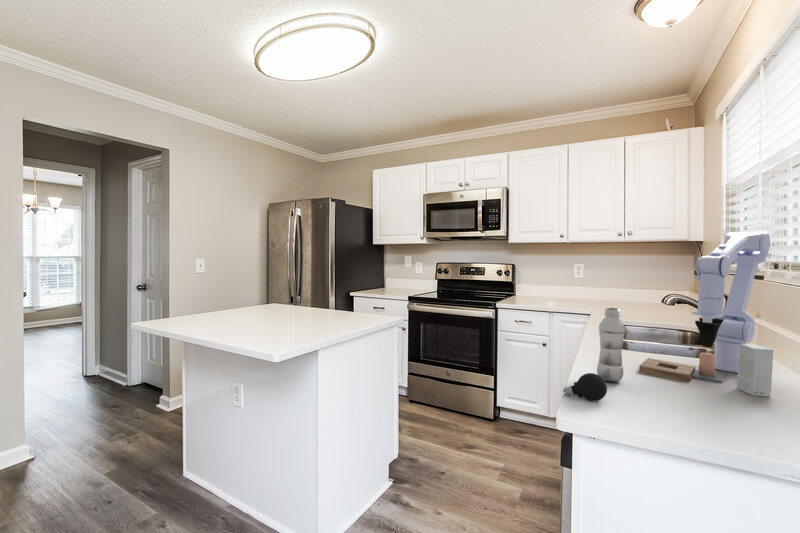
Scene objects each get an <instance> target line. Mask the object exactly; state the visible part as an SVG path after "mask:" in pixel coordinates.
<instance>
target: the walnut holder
mask: <svg viewBox="0 0 800 533" xmlns="http://www.w3.org/2000/svg"><path fill="white" fill-rule="evenodd" d="M638 366H639V367H638V373H641V374H645V373H646V374H645V375H651V376H657V377H661V378H666V379H670V380H675V381H682V382H685V383H690V382H691V380H692V375H693V373H694V372H695V369H696V366H695V365H690V364H685V363H678V362H674V361H668V360H662V359H655V358H652V357H651V358H650V357H648V358H646V359H645V360H644V361H643V362H642V363H640V364H639V365H638Z"/></svg>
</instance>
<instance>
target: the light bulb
mask: <svg viewBox="0 0 800 533" xmlns="http://www.w3.org/2000/svg"><path fill="white" fill-rule="evenodd" d="M607 390H608V385H607V383H606V381H605V380H603V379H602V378H601V377H600V376H599V375H598V374H596V373H592V372H588V373H584V374H582V375H580V377H578V380H577V381H575V382H573V385H569V386H564V387H563V389H562V393H563V394H564V395H565V396H566V397H570V396H576V395H577V397H578V398H583V399H585V400H587V401H590V402H598V401H601V400H602V399H603V398H604V397H605V396H606V395H607ZM564 392H565V393H564Z"/></svg>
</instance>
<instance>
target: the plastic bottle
mask: <svg viewBox="0 0 800 533" xmlns="http://www.w3.org/2000/svg"><path fill="white" fill-rule="evenodd" d="M604 316H605V317H604V318H603V319H602V320H601V322H600V323H599V326H598V335H599V346H600V347H599V350H600V351H599V358H598V363H597V366H596V373H597V375H599V376H600V377H601V378H602V379H603V380H604V381H605V382H614V383H618V382H620V381H622V379H623V377H624V367H623V356H622V355H623V354H622V352H623V342H624V339H625V338H624V336H625V333H626V329H625V325H624V323H623V321H622V320H621V319H620V316H621V309H620V308H615V307H605V308H604Z"/></svg>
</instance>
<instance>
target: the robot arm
mask: <svg viewBox="0 0 800 533" xmlns="http://www.w3.org/2000/svg"><path fill="white" fill-rule="evenodd" d="M723 242H724V243H723V244H719V245H718V246H717V247H716V248H714V249H713V250H712V251H711V252H710V253H709V254H708V255H703V256H701V257H699V258H698V259H697V260H696V263H695V272H696V276H697V277H696V280H697V282H698V298H697V311H696V310H693V311H692V312H691V313H692V315H697V316H699V318H698V320H695V321H694V324H695V326H696V328H697V330H698V333H699V337H700V344H701V347H704V348H712V347H713V345H714V355H716V359H715V370H719V371H724V372H730V373H736V374H738V363H739V346H740V344H748V343H750V342H751V341H752V340H754V339H753V338H754V336H755V325H756V321H755V319H754V318H753V316H752V315H750V314H749V313H748V312H746V311H747V306H748V302H749V299H750V295H751V290H752V287H753V284H754V279H755V275H756V272H757V269H758V267H759V264H760V263H763V262H765V261H766V260H767V257H768V255H769V251H770V245H771V238H770V234H769V233H768V232H767V231H758V232H757V231H755V232H754V231H753V232H750V231H749V232H733V231H731V232H728V233H727V234H726V235H725V237H724V240H723ZM733 263H735V264H736V267H735V271H734V274H733V278H732V281H731V285H730V289H729V293H728V296H727V300H726V304H725V307H724V301H725V300H724V299H725V298H724V297H725V284H726V282H725V281H726V277H727V276H728V275H729V273H730V269H731V268H732V266H731V265H733Z"/></svg>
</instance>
